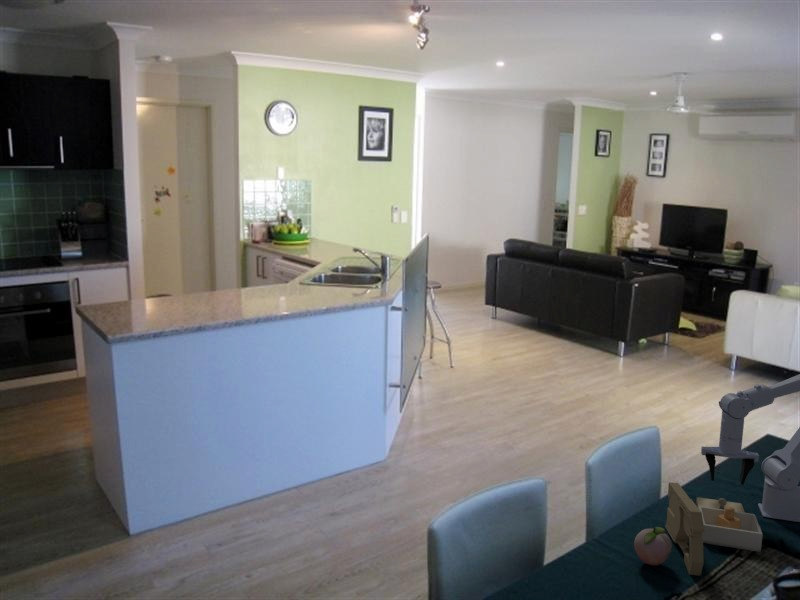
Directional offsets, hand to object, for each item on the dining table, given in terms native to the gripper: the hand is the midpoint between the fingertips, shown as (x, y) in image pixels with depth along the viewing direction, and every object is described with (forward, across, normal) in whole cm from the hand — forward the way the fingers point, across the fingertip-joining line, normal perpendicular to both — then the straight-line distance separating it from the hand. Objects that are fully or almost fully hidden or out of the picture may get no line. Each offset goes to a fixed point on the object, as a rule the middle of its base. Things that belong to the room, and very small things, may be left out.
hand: (726, 481), depth 188 cm
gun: (+10, -13, -26) cm, 31 cm away
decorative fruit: (+10, -21, -36) cm, 43 cm away
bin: (+9, -1, -15) cm, 18 cm away
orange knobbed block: (+9, -1, -15) cm, 17 cm away
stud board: (+9, -1, -2) cm, 10 cm away
